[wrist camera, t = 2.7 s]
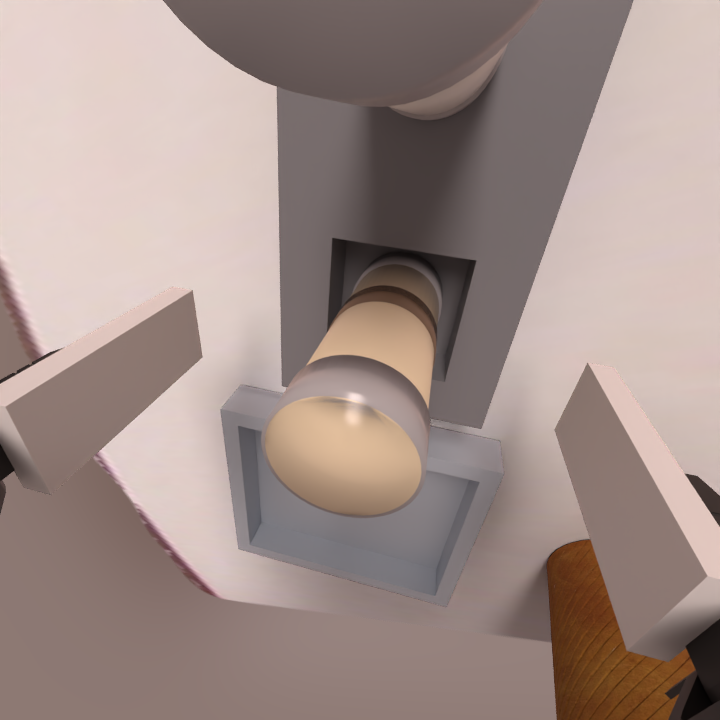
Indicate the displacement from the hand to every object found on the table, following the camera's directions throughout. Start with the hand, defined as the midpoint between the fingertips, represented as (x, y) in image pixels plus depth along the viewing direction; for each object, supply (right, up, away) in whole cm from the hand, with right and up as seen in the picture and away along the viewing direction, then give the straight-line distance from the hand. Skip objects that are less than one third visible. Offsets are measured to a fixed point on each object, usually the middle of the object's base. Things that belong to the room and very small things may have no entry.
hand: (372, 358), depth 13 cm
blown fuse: (+2, +3, +5) cm, 6 cm away
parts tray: (-1, -9, +14) cm, 16 cm away
